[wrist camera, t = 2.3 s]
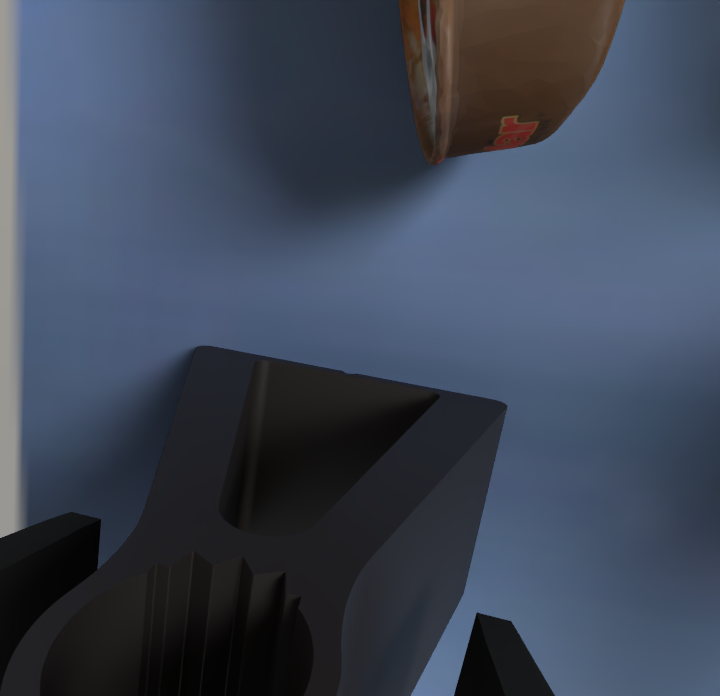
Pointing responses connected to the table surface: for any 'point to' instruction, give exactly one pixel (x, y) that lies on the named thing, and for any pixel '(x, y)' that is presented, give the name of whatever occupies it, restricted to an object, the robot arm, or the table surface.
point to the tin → (500, 68)
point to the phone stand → (281, 542)
